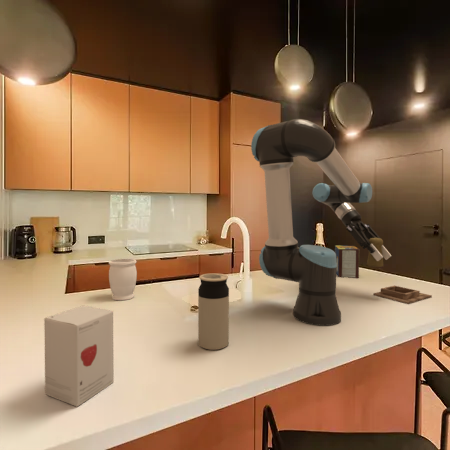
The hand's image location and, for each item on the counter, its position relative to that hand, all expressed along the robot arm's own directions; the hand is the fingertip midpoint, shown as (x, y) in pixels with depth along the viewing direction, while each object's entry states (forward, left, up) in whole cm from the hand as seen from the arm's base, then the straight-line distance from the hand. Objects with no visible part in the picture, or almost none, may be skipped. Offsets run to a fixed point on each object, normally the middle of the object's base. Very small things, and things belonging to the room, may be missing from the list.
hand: (384, 258), depth 116 cm
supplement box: (-107, -3, -17) cm, 109 cm away
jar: (-86, +56, -17) cm, 104 cm away
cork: (0, +4, -3) cm, 5 cm away
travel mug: (-75, +1, -17) cm, 77 cm away
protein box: (+30, +39, -17) cm, 52 cm away
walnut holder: (+14, 0, -17) cm, 22 cm away
